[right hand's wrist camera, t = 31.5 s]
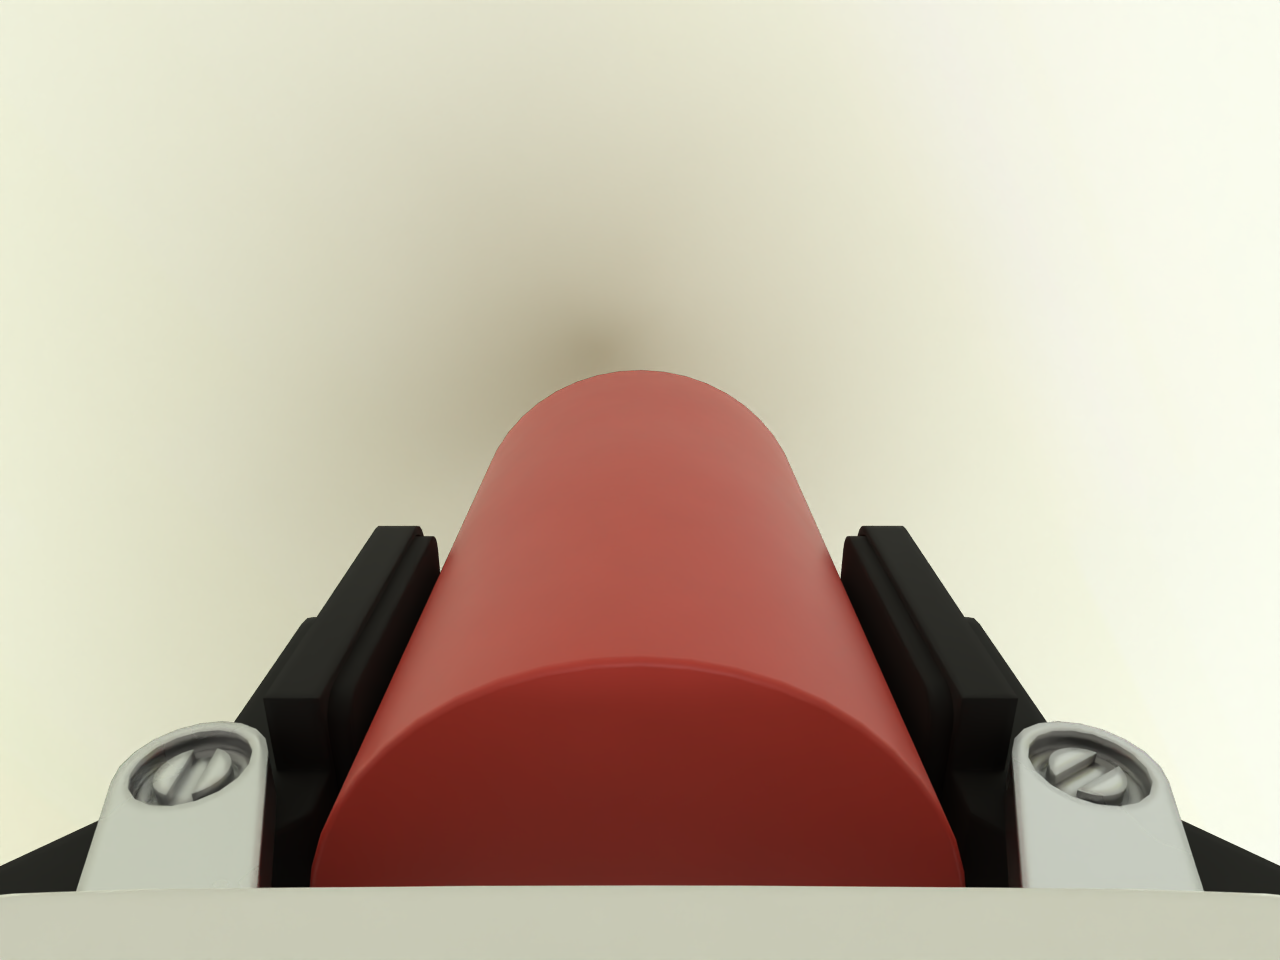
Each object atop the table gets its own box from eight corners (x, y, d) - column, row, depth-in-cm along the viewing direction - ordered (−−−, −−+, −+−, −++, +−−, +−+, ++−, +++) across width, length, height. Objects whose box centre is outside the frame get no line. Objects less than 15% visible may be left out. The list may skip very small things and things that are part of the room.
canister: (863, 472, 15) (1111, 851, 7) (691, 707, 16) (735, 1219, 9) (578, 305, 14) (493, 532, 6) (427, 574, 15) (209, 1021, 8)
